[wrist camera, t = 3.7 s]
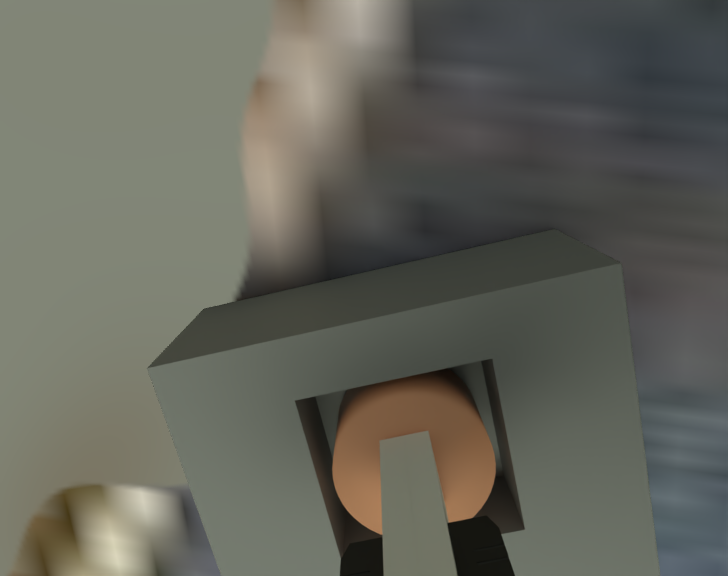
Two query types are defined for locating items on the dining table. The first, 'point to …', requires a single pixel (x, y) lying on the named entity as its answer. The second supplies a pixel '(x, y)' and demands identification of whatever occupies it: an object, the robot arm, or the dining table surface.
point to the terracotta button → (407, 416)
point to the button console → (407, 358)
